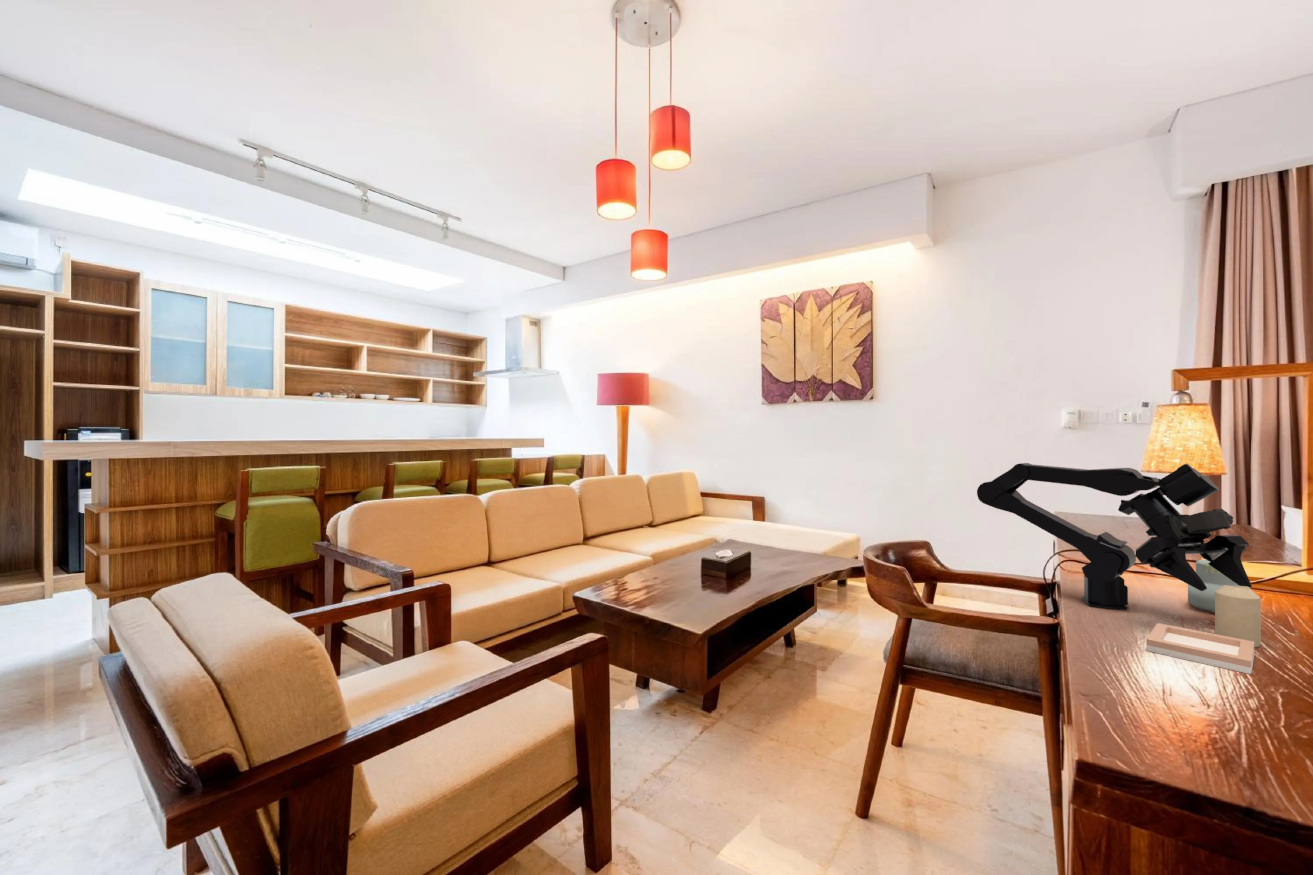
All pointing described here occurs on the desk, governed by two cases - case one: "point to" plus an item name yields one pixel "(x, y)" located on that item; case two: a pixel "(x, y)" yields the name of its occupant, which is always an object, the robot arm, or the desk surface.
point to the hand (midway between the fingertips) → (1226, 588)
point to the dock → (1202, 647)
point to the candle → (1238, 613)
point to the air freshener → (1212, 582)
